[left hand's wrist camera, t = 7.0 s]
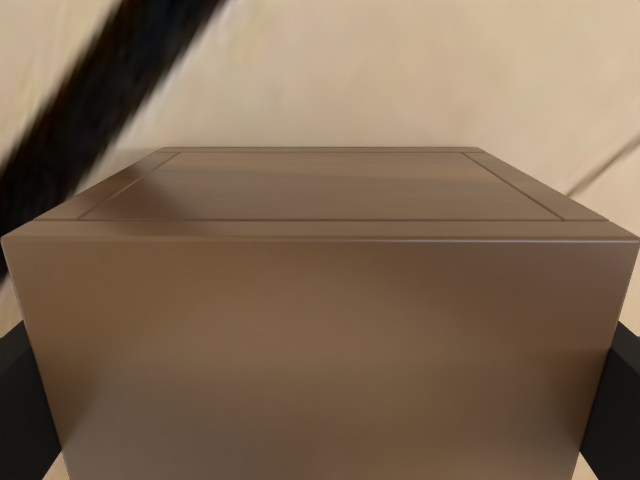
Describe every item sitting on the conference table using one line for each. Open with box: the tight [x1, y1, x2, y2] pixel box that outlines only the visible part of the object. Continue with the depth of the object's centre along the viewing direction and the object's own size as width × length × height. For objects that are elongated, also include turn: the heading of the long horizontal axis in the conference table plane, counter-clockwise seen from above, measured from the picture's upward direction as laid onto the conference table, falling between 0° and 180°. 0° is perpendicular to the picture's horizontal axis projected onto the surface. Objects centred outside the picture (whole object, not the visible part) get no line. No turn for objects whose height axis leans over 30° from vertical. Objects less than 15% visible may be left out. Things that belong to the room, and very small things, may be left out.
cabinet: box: [1, 147, 640, 480], centre depth 15 cm, size 20×11×9 cm, turn 0°
